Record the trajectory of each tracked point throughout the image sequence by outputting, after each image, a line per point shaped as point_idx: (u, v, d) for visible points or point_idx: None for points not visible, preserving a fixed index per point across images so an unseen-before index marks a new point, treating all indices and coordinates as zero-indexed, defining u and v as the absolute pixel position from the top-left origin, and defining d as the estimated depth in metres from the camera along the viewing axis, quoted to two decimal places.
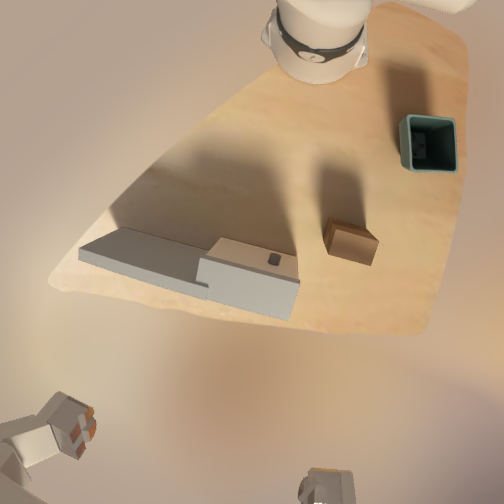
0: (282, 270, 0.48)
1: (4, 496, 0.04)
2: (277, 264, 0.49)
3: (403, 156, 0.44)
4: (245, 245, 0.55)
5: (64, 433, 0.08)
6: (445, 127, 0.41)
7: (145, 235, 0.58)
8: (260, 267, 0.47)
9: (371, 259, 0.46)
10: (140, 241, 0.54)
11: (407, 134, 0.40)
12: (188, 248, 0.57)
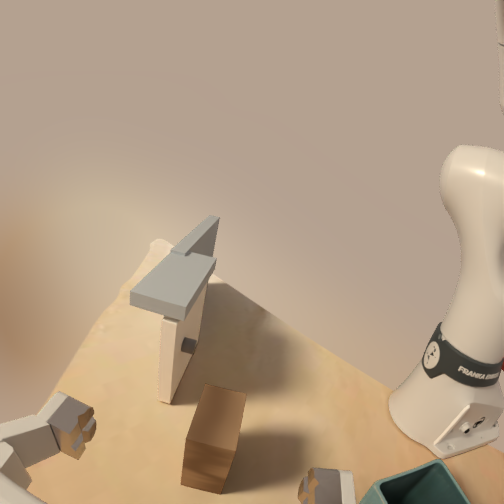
0: (181, 337, 0.34)
1: (4, 496, 0.04)
2: (183, 343, 0.35)
3: None
4: None
5: (64, 433, 0.08)
6: None
7: None
8: (190, 314, 0.36)
9: (199, 439, 0.21)
10: None
11: None
12: None
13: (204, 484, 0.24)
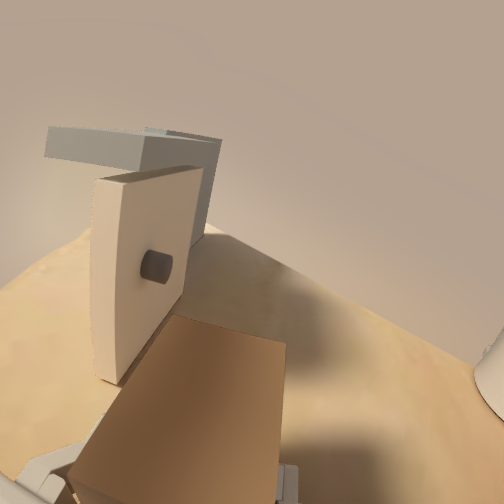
0: (139, 240, 0.17)
1: (4, 496, 0.04)
2: (146, 258, 0.18)
3: None
4: (167, 302, 0.25)
5: None
6: None
7: (193, 238, 0.44)
8: (163, 208, 0.19)
9: (117, 488, 0.04)
10: (196, 212, 0.42)
11: None
12: None
13: None
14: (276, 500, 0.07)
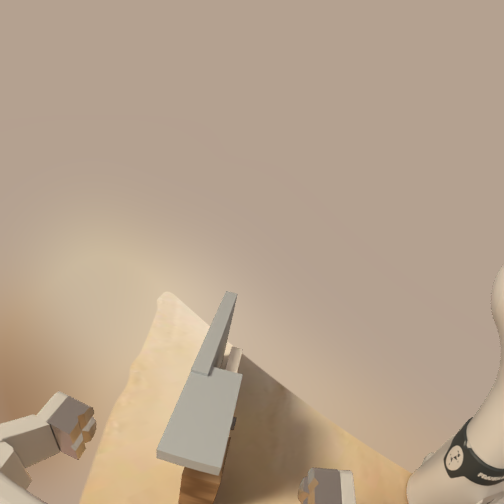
0: None
1: (4, 496, 0.04)
2: None
3: None
4: None
5: (64, 433, 0.08)
6: None
7: None
8: None
9: (192, 475, 0.26)
10: (220, 360, 0.52)
11: None
12: None
13: None
14: None
